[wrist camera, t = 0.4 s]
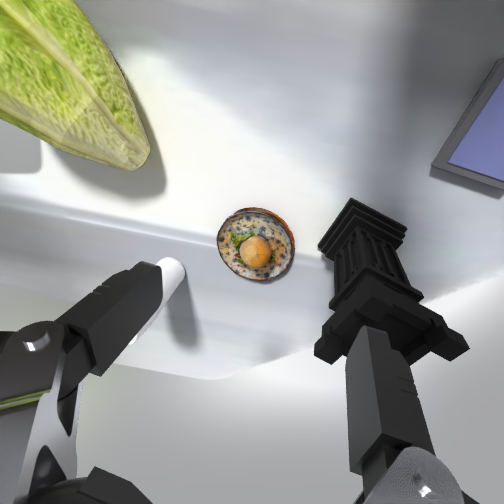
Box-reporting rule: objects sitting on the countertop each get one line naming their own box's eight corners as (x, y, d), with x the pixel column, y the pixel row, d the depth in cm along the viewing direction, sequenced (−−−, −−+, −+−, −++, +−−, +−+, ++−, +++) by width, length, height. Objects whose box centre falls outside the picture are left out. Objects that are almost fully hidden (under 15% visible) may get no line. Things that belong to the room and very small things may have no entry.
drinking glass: (174, 289, 50) (120, 351, 37) (149, 262, 48) (84, 318, 36) (197, 274, 47) (147, 337, 34) (171, 245, 45) (109, 300, 32)
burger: (208, 221, 41) (185, 242, 35) (276, 194, 36) (265, 213, 30) (241, 282, 45) (226, 311, 39) (306, 266, 40) (302, 295, 34)
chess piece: (317, 244, 38) (306, 355, 21) (350, 197, 34) (370, 288, 17) (366, 270, 38) (394, 403, 21) (405, 226, 34) (481, 348, 17)
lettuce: (194, 103, 38) (139, 161, 47) (-1, -116, 25) (-26, 23, 34) (157, 157, 28) (96, 217, 37) (-186, -146, 16) (-152, 56, 25)
